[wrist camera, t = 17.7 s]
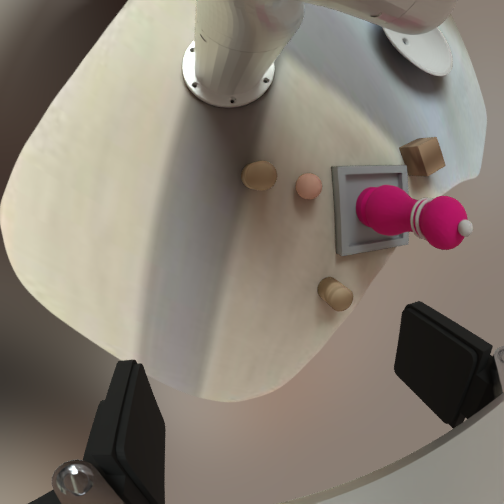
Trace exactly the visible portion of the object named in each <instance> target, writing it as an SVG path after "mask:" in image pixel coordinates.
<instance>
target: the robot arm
mask: <svg viewBox="0 0 504 504" xmlns="http://www.w3.org/2000/svg"><path fill="white" fill-rule="evenodd" d="M457 1H458V0H196V17H195V40H194V41H193V42H192V43H191V44H190V46H189V47H188V48H187V50H186V52H185V54H184V57H183V61H182V73H183V77H184V80H185V83H186V85H187V86H188V88H189V90H190V91H191V92H192V93H193V94H194V95H195V96H196V97H198V98H199V99H200V100H202V101H204V102H206V103H208V104H210V105H214V106H217V107H224V108H233V107H240V106H244V105H247V104H249V103H252V102H253V101H255V100H256V99H258V98H259V97H260V96H262V95H263V94H264V93H265V91H266V90H267V89H268V88H269V86H270V84H271V83H272V80H273V77H274V71H275V65H274V61H275V59H276V58H277V57H278V55H279V54H280V53H281V51H282V50H283V49H284V47H285V46H286V45H287V44H288V42H289V41H290V40H291V38H292V37H293V36H294V34H295V33H296V32H297V30H298V29H299V27H300V25H301V24H302V21H303V18H304V12H305V4H304V2H305V3H309V4H313V5H317V6H323V7H327V8H330V9H333V10H337V11H340V12H343V13H346V14H349V15H352V16H354V17H357V18H360V19H363V20H365V21H368V22H371V23H373V24H376V25H379V26H381V27H384V28H386V29H389V30H392V31H395V32H398V33H402V34H407V35H420V34H425V33H428V32H430V31H432V30H434V29H435V28H437V27H438V26H440V25H441V24H442V23H443V22H444V21H445V20H446V19H447V18H448V16H449V15H450V14H451V12H452V11H453V9H454V7H455V5H456V3H457ZM192 51H193V52H194V53H191V52H192ZM263 81H266V83H264V82H263ZM193 86H197V87H196V88H193ZM230 101H234V103H231V102H230ZM491 350H492V345H491V344H489V343H487V342H486V341H484V340H483V339H481V338H480V337H478V336H476V335H475V334H473V333H472V332H470V331H468V330H467V329H465V328H464V327H462V326H460V325H459V324H457V323H456V322H454V321H452V320H451V319H449V318H447V317H446V316H444V315H442V314H441V313H439V312H437V311H436V310H434V309H432V308H431V307H429V306H427V305H426V304H424V303H422V302H420V301H418V302H415V303H412V304H408V305H407V306H406V307H405V309H404V310H403V312H402V318H401V326H400V333H399V340H398V346H397V353H396V359H395V364H394V370H395V373H396V375H397V376H398V377H399V378H400V379H401V380H402V381H403V382H404V383H405V384H406V385H407V386H408V387H410V389H411V390H412V391H413V392H414V393H415V394H416V395H417V396H418V397H419V398H420V399H421V400H422V401H423V402H424V403H425V404H426V405H427V406H428V407H429V408H430V409H431V410H432V411H433V412H434V413H435V414H436V415H437V416H438V417H439V418H440V419H441V420H442V421H443V422H444V423H446V424H449V425H450V426H451V427H452V428H453V429H452V430H451V431H449V432H448V433H446V434H444V435H443V436H441V437H440V438H438V439H436V440H435V441H433V442H431V443H429V444H428V445H426V446H424V447H422V448H421V449H419V450H417V451H415V452H413V453H411V454H410V455H408V456H406V457H404V458H402V459H400V460H398V461H396V462H394V463H392V464H389V465H387V466H385V467H383V468H381V469H378V470H376V471H374V472H372V473H369V474H367V475H365V476H362V477H360V478H357V479H355V480H352V481H349V482H347V483H344V484H342V485H339V486H336V487H333V488H330V489H327V490H324V491H321V492H318V493H315V494H311V495H308V496H305V497H301V498H297V499H294V500H290V501H286V502H282V503H278V504H504V346H502V347H499V348H498V349H497V350H496V351H495V352H494V355H493V356H491V355H490V353H491ZM465 417H466V418H467V420H466V421H465V422H463V421H464V419H465ZM164 464H165V423H164V420H163V417H162V415H161V412H160V410H159V407H158V405H157V402H156V400H155V397H154V395H153V392H152V389H151V387H150V384H149V381H148V378H147V376H146V373H145V370H144V367H143V365H142V364H137V362H136V360H125V361H118V363H117V365H116V368H115V371H114V374H113V377H112V380H111V383H110V386H109V390H108V393H107V396H106V399H105V400H102V401H101V402H100V404H99V406H98V409H97V412H96V416H95V419H94V422H93V425H92V429H91V432H90V436H89V439H88V443H87V447H86V450H85V454H84V458H83V460H71V461H68V462H65V463H63V464H62V465H60V466H59V467H58V468H57V469H56V470H55V472H54V474H53V476H52V486H53V489H54V490H52V491H50V492H48V493H47V494H45V495H43V496H41V497H39V498H38V499H36V500H34V501H32V502H30V503H28V504H165V491H164V469H165V468H164V466H165V465H164Z"/></svg>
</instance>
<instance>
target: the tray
mask: <svg viewBox="0 0 504 504" xmlns="http://www.w3.org/2000/svg"><path fill="white" fill-rule="evenodd" d="M331 169H332V182H333V196H334V213H335V234H336V253H337V254H339V255H341V256H346V255H352V254H357V253H363V252H369V251H374V250H380V249H385V248H391V247H396V246H402V245H407V244H408V241H409V238H408V237H409V232H404V233H402V234H399V235H394V236H387V235H382V234H379V233H377V232H376V231H374V230H373V229H372V228H371V227H368V226H365V225H364V224H362V223H361V222H360V220H359V219H358V217H357V214H356V201H357V199H358V196H359V195H360V193H361V192H362V191H363V190H364V189H366V188H368V187H379V186H382V185H392V186H396V187H399V188H400V189H402V190H404V191H405V192H406V193H407V194H408V175H407V165H366V166H336V167H331Z"/></svg>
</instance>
